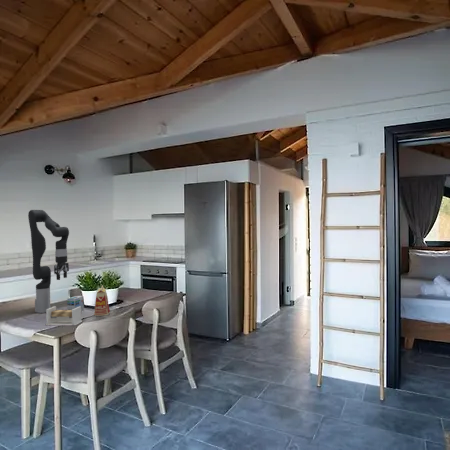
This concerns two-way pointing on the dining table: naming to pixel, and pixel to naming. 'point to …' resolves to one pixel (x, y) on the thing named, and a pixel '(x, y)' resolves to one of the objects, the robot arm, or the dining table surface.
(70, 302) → the light bulb box
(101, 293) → the milk carton
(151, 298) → the dining table surface
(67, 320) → the peg frame
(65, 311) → the shelf board
